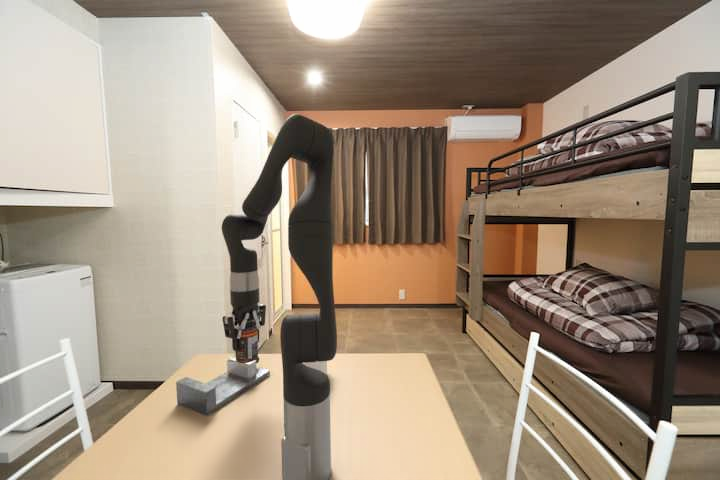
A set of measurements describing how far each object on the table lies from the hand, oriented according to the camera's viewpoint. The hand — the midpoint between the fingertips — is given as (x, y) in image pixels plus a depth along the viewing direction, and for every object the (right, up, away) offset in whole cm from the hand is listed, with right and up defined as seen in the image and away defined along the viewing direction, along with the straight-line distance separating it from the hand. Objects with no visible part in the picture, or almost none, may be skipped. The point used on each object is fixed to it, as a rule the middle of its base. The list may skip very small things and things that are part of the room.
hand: (246, 346), depth 90 cm
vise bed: (-9, -15, +8) cm, 20 cm away
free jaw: (-5, -13, +16) cm, 21 cm away
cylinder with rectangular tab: (+16, -15, +16) cm, 27 cm away
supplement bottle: (0, -4, 0) cm, 4 cm away
